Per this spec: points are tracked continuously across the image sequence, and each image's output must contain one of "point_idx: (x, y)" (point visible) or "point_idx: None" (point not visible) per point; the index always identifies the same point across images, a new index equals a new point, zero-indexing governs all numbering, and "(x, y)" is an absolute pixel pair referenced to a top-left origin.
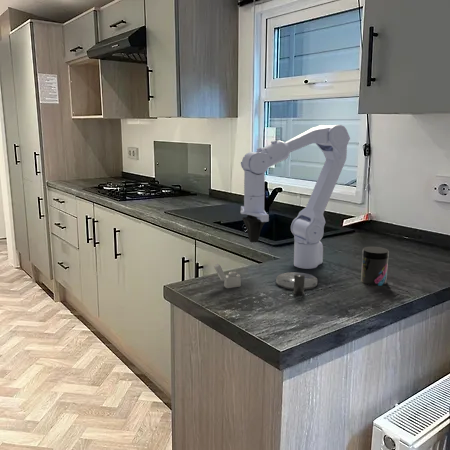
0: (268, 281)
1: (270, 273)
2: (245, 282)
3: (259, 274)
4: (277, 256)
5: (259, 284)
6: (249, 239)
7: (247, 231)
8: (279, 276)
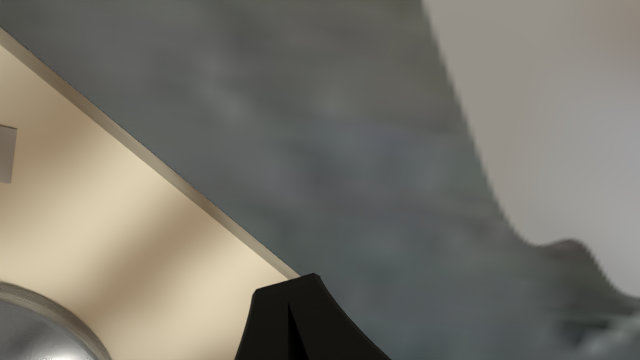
0: None
1: (298, 264)
2: (107, 58)
3: (289, 192)
4: (613, 345)
5: None
6: (306, 286)
7: (363, 346)
8: (9, 325)
